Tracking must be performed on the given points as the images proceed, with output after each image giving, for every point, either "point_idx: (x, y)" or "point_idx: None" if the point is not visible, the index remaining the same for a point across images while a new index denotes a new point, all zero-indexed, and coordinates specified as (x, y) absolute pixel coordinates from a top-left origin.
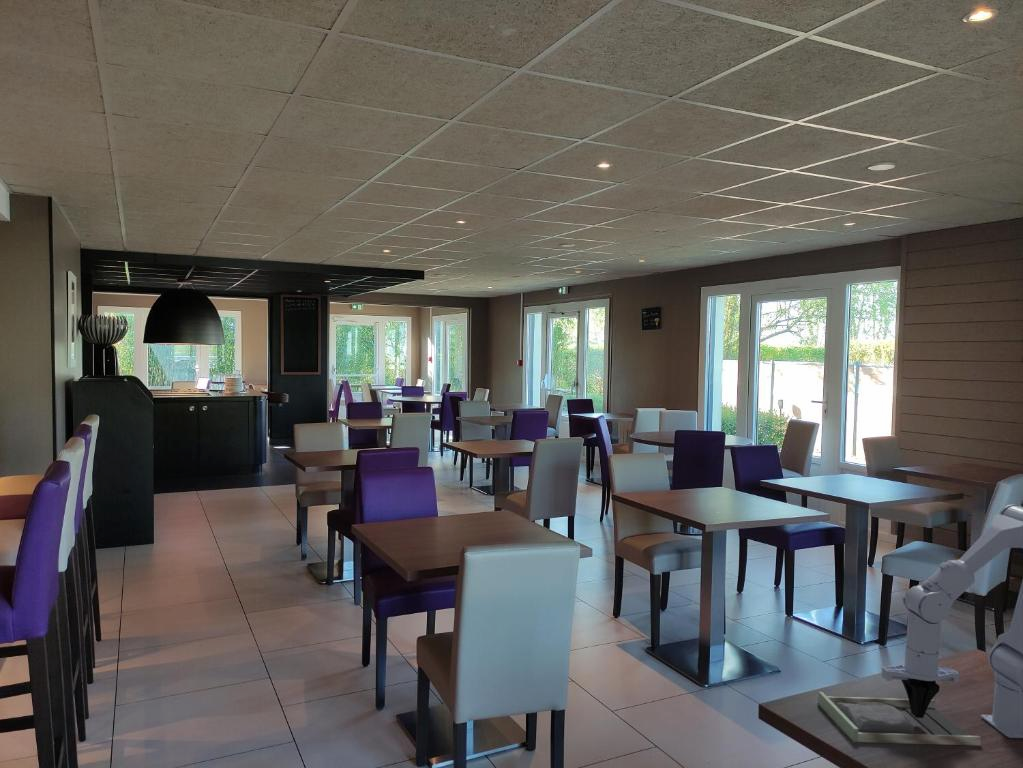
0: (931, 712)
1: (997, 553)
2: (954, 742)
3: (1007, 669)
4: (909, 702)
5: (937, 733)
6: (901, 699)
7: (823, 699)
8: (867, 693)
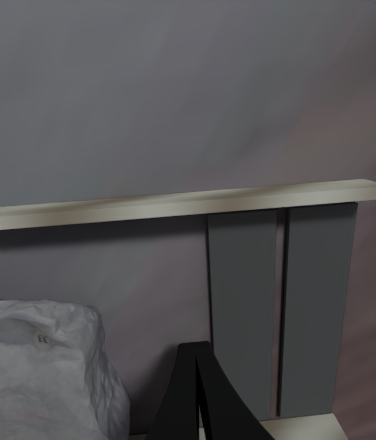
0: (313, 245)
1: None
2: None
3: None
4: (171, 376)
5: None
6: (207, 210)
7: None
8: (85, 59)
